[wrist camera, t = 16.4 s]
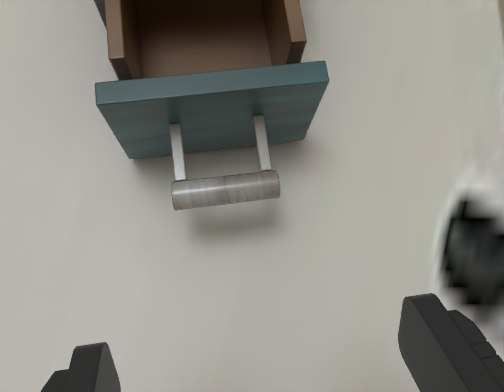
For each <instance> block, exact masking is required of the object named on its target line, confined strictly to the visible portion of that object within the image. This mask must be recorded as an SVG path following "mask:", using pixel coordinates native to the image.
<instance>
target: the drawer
mask: <svg viewBox="0 0 504 392" xmlns="http://www.w3.org/2000/svg"><path fill="white" fill-rule="evenodd" d="M105 12H106V26H107V40H108V54H109V60H110V62H111V65H112V67H113V69H114V71H115V73H116V76H117V78H118V80H119V81H110V82H100V83H95V95H96V105H97V107H98V108H99V110H100V112H101V113H102V115H103V117H104V118H105V120H106V121H107V123H108V125H109V126H110V128H111V130H112V131H113V133H114V135H115V136H116V138H117V140H118V141H119V143H120V144H121V146H122V148H123V149H124V151H125V153H126V154H127V156H128V158H129V159H134V158H143V157H152V156H161V155H170V154H172V157H173V166H174V176H175V182H172V183H171V192H172V200H173V206H174V209H175V210H183V209H192V208H200V207H208V206H216V205H224V204H232V203H240V202H248V201H256V200H264V199H272V198H279V196H280V185H279V178H278V174H277V171H276V170H272V166H271V160H270V154H269V147H268V143H276V142H285V141H294V140H303V139H304V137H305V135H306V133H307V130H308V128H309V126H310V124H311V121H312V119H313V117H314V115H315V112H316V110H317V108H318V106H319V103H320V101H321V99H322V97H323V94H324V92H325V90H326V87H327V85H328V83H329V77H328V72H327V67H326V62H325V61H316V62H306V63H300V61H301V58H302V54H303V51H304V48H305V44H306V41H307V40H306V35H305V30H304V24H303V19H302V14H301V9H300V4H299V0H105ZM250 145H256V148H257V154H258V161H259V167H260V172H255V173H247V174H238V175H230V176H221V177H213V178H204V179H196V180H187V176H186V167H185V158H184V153H188V152H196V151H205V150H214V149H223V148H232V147H241V146H250ZM271 170H272V171H271Z"/></svg>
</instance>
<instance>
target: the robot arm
mask: <svg viewBox="0 0 504 392" xmlns="http://www.w3.org/2000/svg"><path fill="white" fill-rule="evenodd" d="M398 343H399V348H400V352H401V355H402V357H403V359H404V361H405V363H406V365H407V367H408V369H409V371H410V373H411V375H412V377H413V379H414V380H415V382H416V384H417V386H418V388H419V390H420V392H504V362H503V360H502V359H501V358H500V356H499V355H497V354H496V351H495V350H494V348H493V347H492V346H491V344H490V343H489V342H487V341H486V338H485V337H484V335H483V334H482V333H481V331H480V330H479V329H478V327H477V326H476V325H475V323H474V322H473V321H471V320H470V319H468V318H467V317H466V316H464V315H463V314H462V313H460V312H459V311H457V310H450V311H447V310H446V308H445V307H444V306H443V304H442V303H441V301H440V300H439V298H438V297H437V296H436V295H435V294H433V293H429V294H423V295H416V296H409V297H405V298H404V300H403V305H402V312H401V319H400V326H399V333H398ZM41 392H121V388H120V382H119V378H118V375H117V371H116V368H115V365H114V362H113V359H112V356H111V352H110V349H109V346H108V344H107V343H106V342H103V343H96V344H89V345H82V346H76V347H75V349H74V351H73V354H72V358H71V362H70V366H69V369H67V370H60V371H55V372H54V373H53V375H52V376H51V377H50V379H49V380H48V382H47V383H46V384H45V386H44V387H43V389H42V390H41Z"/></svg>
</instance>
